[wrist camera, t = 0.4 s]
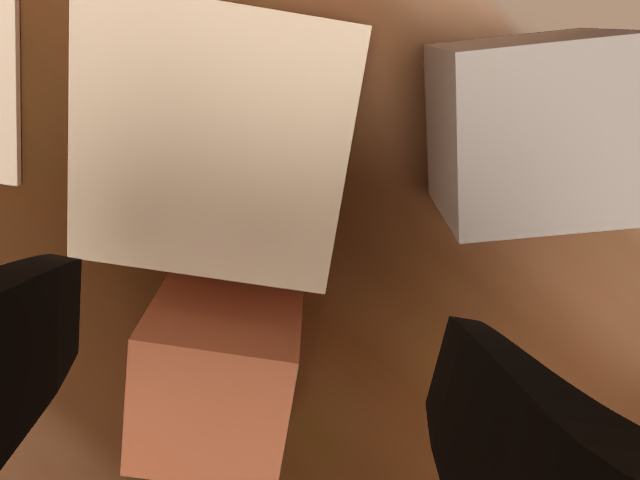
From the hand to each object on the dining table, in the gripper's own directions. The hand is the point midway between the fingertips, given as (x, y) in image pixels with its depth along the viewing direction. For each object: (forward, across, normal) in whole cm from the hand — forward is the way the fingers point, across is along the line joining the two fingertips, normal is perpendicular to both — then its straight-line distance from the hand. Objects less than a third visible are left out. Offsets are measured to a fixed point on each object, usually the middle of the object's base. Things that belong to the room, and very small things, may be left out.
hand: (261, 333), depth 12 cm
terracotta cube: (+10, +1, +6) cm, 12 cm away
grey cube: (+10, -7, -4) cm, 13 cm away
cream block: (+10, +2, -2) cm, 11 cm away
